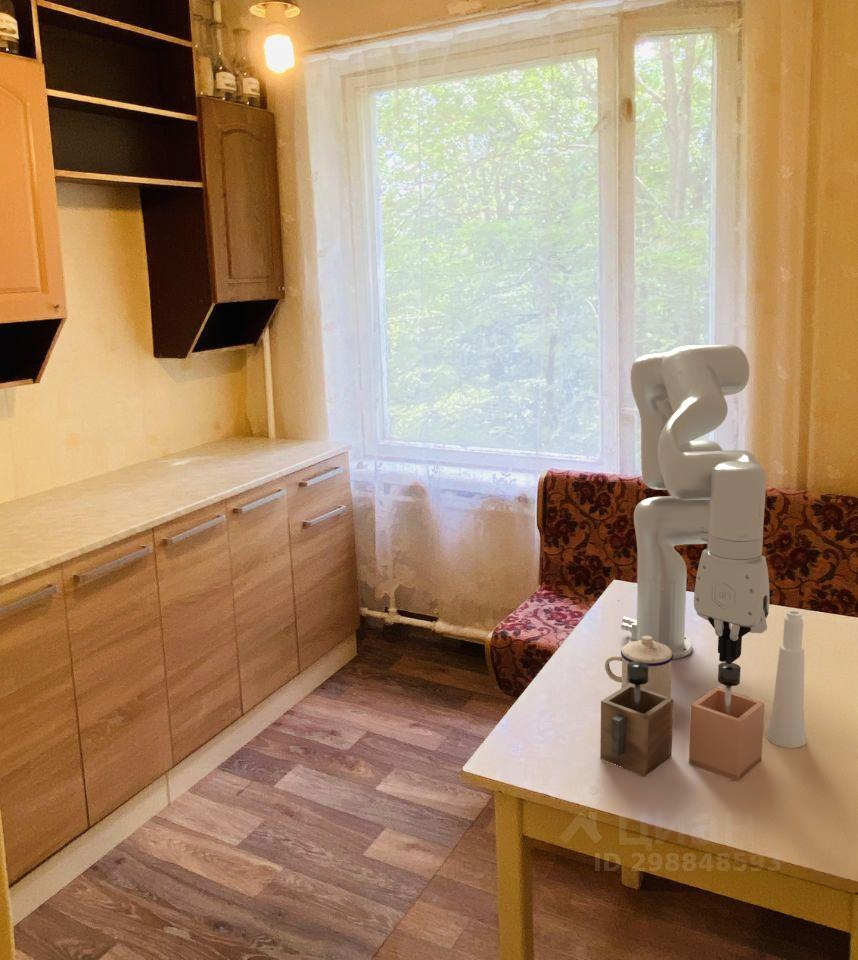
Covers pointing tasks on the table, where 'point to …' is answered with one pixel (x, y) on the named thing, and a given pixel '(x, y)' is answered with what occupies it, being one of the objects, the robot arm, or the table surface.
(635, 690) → the dark metallic plunger
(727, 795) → the table surface
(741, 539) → the robot arm
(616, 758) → the wooden handled box
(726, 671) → the black knobbed plunger
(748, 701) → the square planter pot
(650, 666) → the teacup with lid
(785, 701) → the cosmetic bottle
